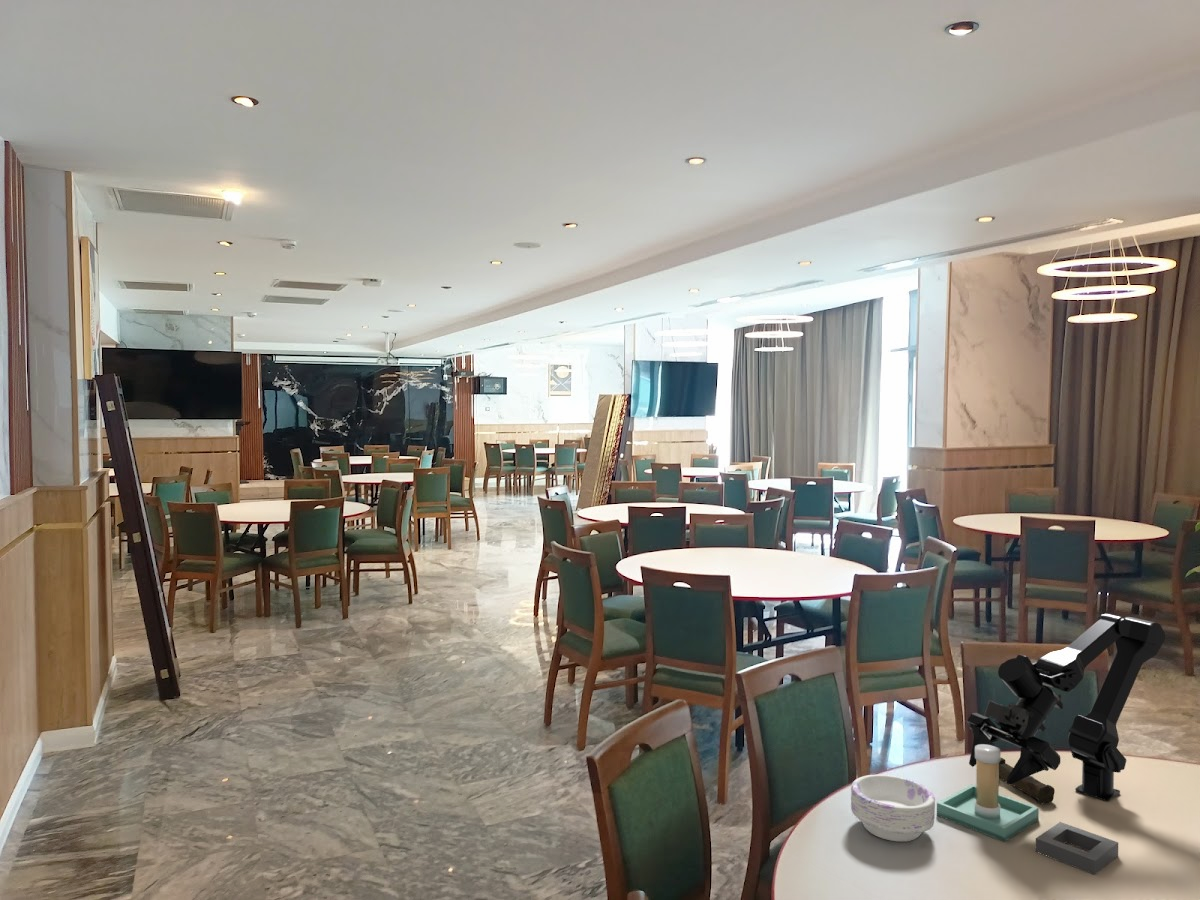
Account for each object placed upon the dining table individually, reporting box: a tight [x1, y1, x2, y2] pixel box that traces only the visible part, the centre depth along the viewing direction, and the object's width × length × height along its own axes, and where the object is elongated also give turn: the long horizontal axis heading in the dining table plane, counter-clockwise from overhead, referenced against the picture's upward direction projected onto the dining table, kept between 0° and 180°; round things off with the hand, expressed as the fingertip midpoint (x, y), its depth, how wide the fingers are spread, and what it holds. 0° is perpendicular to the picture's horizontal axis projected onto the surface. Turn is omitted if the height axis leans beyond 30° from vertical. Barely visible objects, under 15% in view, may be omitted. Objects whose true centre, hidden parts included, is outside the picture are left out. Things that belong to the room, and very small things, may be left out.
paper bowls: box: [850, 774, 936, 842], centre depth 161 cm, size 15×15×8 cm
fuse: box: [975, 744, 1002, 819], centre depth 165 cm, size 5×5×13 cm
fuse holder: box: [1035, 821, 1119, 876], centre depth 152 cm, size 10×10×2 cm
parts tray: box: [936, 784, 1040, 843], centre depth 166 cm, size 14×14×2 cm
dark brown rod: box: [999, 756, 1055, 805], centre depth 181 cm, size 19×4×5 cm, turn 14°
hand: (988, 774), depth 165 cm, fingers open, 9 cm apart
